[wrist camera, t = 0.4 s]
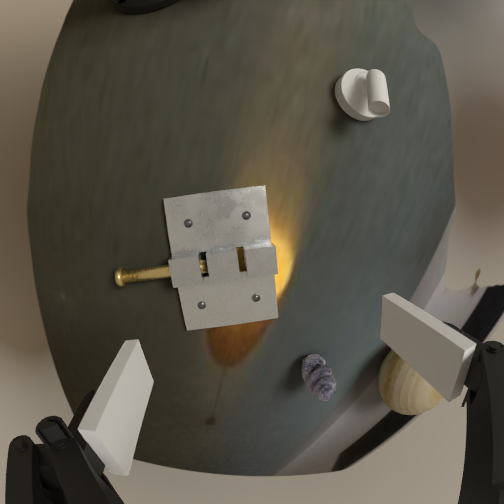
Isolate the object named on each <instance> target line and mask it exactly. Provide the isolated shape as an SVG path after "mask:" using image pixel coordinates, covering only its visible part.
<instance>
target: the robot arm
mask: <svg viewBox="0 0 504 504" xmlns="http://www.w3.org/2000/svg"><path fill="white" fill-rule="evenodd" d="M177 1H178V0H112V2H113V4H114V6H115V7H116V8H117V9H118V10H119V11H122V12H124V13H130V14H140V13H147V12H152V11H156V10H159V9H162V8H164V7H167V6H169V5H171V4H173V3H175V2H177ZM380 339H382V340H383V341H384V342H385V343H386V344H387V345H388V346H389V347H390V348H391V349H392V350H394V351H395V352H396V353H397V354H398V355H399V356H400V357H401V358H402V359H403V360H404V361H405V362H407V363H408V364H409V365H410V366H411V367H412V368H413V369H414V370H415V371H416V372H417V373H418V374H419V375H421V376H422V377H423V378H424V379H425V380H426V381H427V382H428V383H429V384H430V385H431V386H432V387H433V388H434V389H435V390H436V391H437V392H439V393H440V394H441V395H442V396H443V397H444V398H445V399H446V400H447V401H448V402H450V401H452V400H453V399H455V398H456V397H458V396H459V395H460V394H461V392H462V389H463V385H466V386H467V387H468V390H467V393H466V395H465V398H464V400H463V403H462V407H464V405H465V402H467V431H466V450H465V462H464V471H463V478H462V484H461V491H460V496H459V501H458V504H504V345H503V344H502V343H500V342H497V341H487V342H485V343H484V344H483V343H481V342H480V341H478V340H477V339H475V338H474V337H472V336H470V335H469V334H467V333H464V331H462V330H461V329H460V330H459V328H457V327H456V326H454V325H452V324H450V323H446V322H441V321H440V320H438V319H436V318H435V317H433V316H432V315H430V314H428V313H427V312H425V311H423V310H422V309H420V308H418V307H417V306H415V305H413V304H412V303H410V302H408V301H407V300H405V299H403V298H402V297H400V296H398V295H397V294H395V293H390V294H387V295H383V296H382V320H381V335H380ZM153 383H154V381H153V378H152V376H151V373H150V370H149V368H148V365H147V362H146V360H145V357H144V354H143V351H142V348H141V345H140V342H139V339H138V340H126V341H125V342H124V344H123V346H122V347H121V349H120V351H119V352H118V354H117V356H116V358H115V359H114V361H113V363H112V365H111V366H110V368H109V370H108V372H107V374H106V375H105V377H104V379H103V381H102V383H101V385H100V386H99V388H98V390H97V391H94V390H92V391H91V392H89V393H88V394H87V395H86V396H85V397H84V398H83V400H82V402H81V404H80V406H79V407H78V409H77V412H76V413H75V415H74V416H73V418H72V420H71V422H70V424H69V426H68V427H67V425H66V424H65V423H64V421H63V420H62V418H60V417H57V416H50V417H46V418H44V419H42V420H41V421H40V422H39V423H38V425H37V427H36V434H37V435H38V437H39V438H40V439H41V441H42V442H43V443H44V444H34V442H33V441H32V440H31V439H30V437H28V436H26V435H21V436H18V437H16V438H14V439H13V440H12V441H11V443H10V445H9V451H8V459H7V470H6V493H5V504H124V502H123V501H122V500H121V498H120V497H119V495H118V494H117V492H116V491H115V490H114V488H113V486H112V485H111V483H110V482H109V480H108V478H107V477H106V476H105V475H104V473H103V471H104V467H105V466H106V468H107V469H108V470H109V471H110V472H111V473H112V474H117V475H126V476H128V475H129V472H130V468H131V463H132V459H133V455H134V451H135V447H136V443H137V440H138V436H139V432H140V428H141V425H142V421H143V417H144V414H145V410H146V407H147V403H148V400H149V396H150V393H151V389H152V386H153Z"/></svg>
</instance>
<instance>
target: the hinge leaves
mask: <svg viewBox="0 0 504 504" xmlns="http://www.w3.org/2000/svg"><path fill="white" fill-rule="evenodd" d="M164 207H165V214H166V221H167V228H168V235H169V241H170V247H171V253H172V256H171V257H170V258H169V260H168V262H169V268H170V273H171V278H172V284H173V288H177V287H178V291H179V296H180V301H181V306H182V311H183V315H184V320H185V324H186V328H187V330H195V329H204V328H212V327H220V326H227V325H235V324H242V323H248V322H255V321H261V320H268V319H274V318H278V310H277V298H276V288H275V277H274V274H278V269H277V258H276V248H275V245H274V244H273V243H272V242H271V237H270V227H269V218H268V208H267V199H266V190H265V186H256V187H247V188H238V189H230V190H222V191H214V192H207V193H200V194H193V195H186V196H180V197H173V198H167V199H164ZM236 247H243V255H244V263H245V270H241V271H239V263H238V256H237V250H236ZM206 251H207V252H206ZM200 252H206V259H207V266H208V272H209V275H205V276H204V273H201V268H200V261H199V260H202V259H201V253H200Z"/></svg>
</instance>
